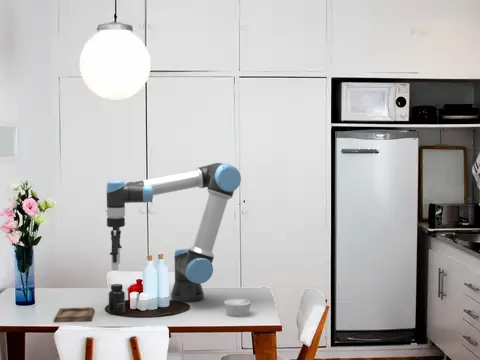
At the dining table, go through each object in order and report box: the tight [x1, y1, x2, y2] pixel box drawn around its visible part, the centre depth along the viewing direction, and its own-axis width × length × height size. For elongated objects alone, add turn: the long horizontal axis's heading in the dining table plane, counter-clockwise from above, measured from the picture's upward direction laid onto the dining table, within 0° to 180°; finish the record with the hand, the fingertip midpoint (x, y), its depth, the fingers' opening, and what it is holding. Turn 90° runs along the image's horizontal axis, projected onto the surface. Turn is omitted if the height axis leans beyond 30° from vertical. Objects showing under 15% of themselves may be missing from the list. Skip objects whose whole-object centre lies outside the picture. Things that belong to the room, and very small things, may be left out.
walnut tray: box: [53, 306, 96, 323], centre depth 301 cm, size 15×15×2 cm
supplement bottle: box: [108, 283, 126, 315], centre depth 307 cm, size 7×7×12 cm
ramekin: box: [224, 298, 252, 317], centre depth 306 cm, size 11×11×5 cm
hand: (115, 266), depth 306 cm, fingers open, 13 cm apart
